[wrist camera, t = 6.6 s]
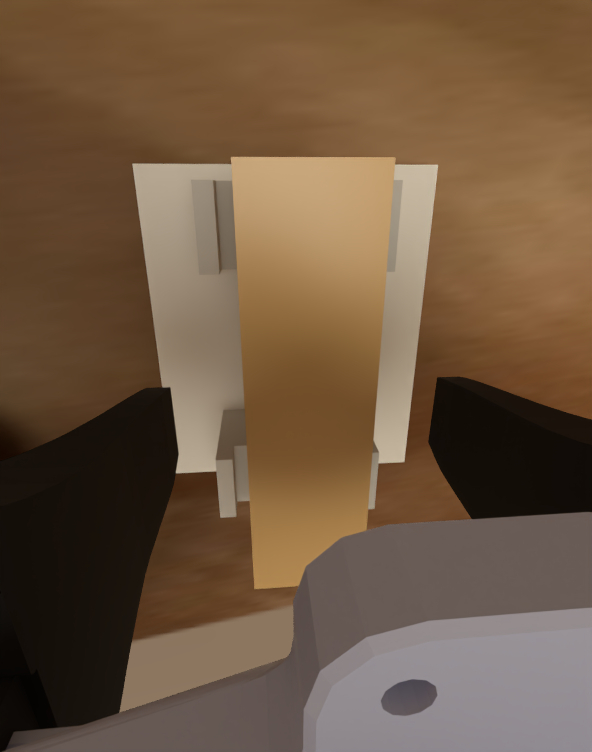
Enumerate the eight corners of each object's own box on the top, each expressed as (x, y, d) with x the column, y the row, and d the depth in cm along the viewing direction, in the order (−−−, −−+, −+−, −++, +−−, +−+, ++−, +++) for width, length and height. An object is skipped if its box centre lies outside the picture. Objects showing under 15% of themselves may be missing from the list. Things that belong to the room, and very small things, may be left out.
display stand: (177, 461, 21) (155, 533, 17) (139, 165, 16) (94, 155, 12) (398, 450, 22) (434, 517, 18) (428, 166, 17) (490, 156, 12)
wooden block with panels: (255, 497, 18) (254, 588, 13) (239, 167, 13) (230, 156, 9) (339, 492, 18) (363, 581, 14) (354, 168, 13) (397, 157, 9)
